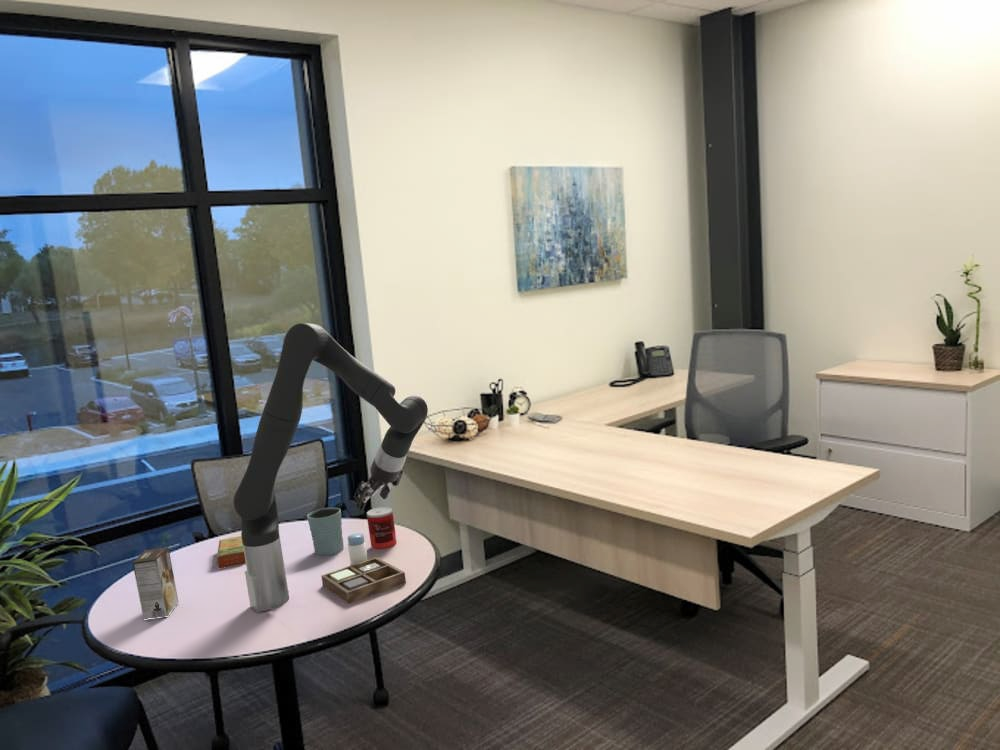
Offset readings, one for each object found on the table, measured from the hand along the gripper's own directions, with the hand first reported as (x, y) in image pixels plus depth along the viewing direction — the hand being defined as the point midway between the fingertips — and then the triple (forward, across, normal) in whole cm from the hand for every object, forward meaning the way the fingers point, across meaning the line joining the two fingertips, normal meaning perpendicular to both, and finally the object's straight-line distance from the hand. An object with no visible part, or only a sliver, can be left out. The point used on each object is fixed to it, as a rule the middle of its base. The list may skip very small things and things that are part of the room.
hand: (371, 502), depth 216 cm
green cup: (+36, -6, -11) cm, 38 cm away
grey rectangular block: (+17, +3, +11) cm, 21 cm away
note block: (+18, +11, +9) cm, 23 cm away
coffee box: (+39, +43, -19) cm, 61 cm away
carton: (+52, +10, -31) cm, 61 cm away
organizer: (+15, +8, +13) cm, 22 cm away
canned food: (+28, -16, +1) cm, 32 cm away
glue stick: (+23, 0, +5) cm, 23 cm away
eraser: (+13, +13, +15) cm, 24 cm away
